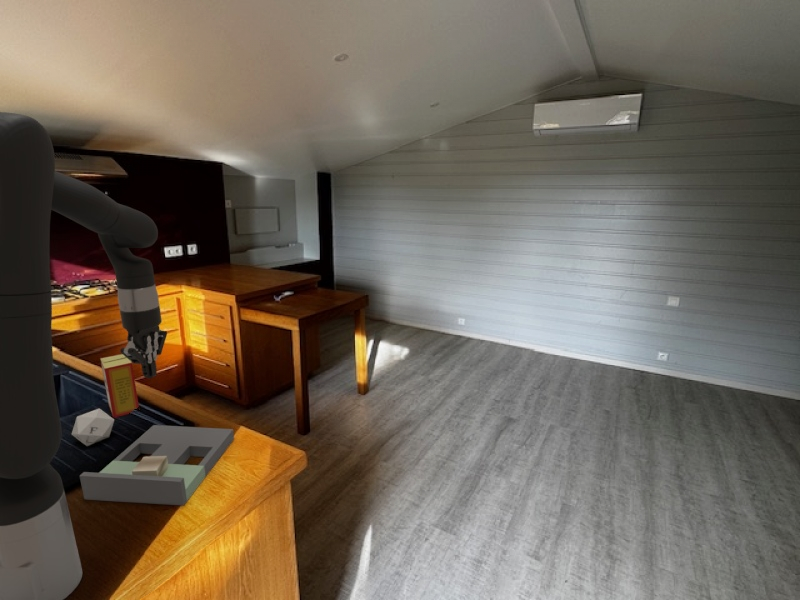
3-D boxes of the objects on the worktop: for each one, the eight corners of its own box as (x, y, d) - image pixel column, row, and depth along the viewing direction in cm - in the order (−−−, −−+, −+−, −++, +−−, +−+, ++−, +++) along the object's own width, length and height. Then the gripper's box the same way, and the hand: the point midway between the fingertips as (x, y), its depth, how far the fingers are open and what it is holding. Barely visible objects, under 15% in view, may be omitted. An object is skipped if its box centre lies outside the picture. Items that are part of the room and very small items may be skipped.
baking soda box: (139, 410, 121) (131, 361, 117) (113, 418, 117) (104, 367, 113) (133, 398, 128) (126, 351, 124) (108, 405, 124) (100, 357, 120)
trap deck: (183, 505, 86) (180, 481, 84) (84, 499, 87) (79, 475, 85) (234, 438, 109) (232, 419, 107) (155, 434, 110) (152, 415, 108)
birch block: (158, 482, 88) (156, 470, 87) (134, 483, 88) (132, 471, 87) (168, 467, 93) (166, 455, 92) (145, 467, 93) (143, 456, 92)
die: (66, 450, 104) (70, 431, 99) (77, 420, 109) (81, 401, 104) (104, 452, 108) (110, 434, 103) (113, 423, 114) (119, 404, 109)
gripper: (134, 315, 83) (146, 390, 88) (174, 298, 96) (182, 365, 100) (100, 313, 83) (114, 389, 88) (143, 297, 96) (153, 363, 101)
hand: (150, 376), depth 94 cm, fingers closed
